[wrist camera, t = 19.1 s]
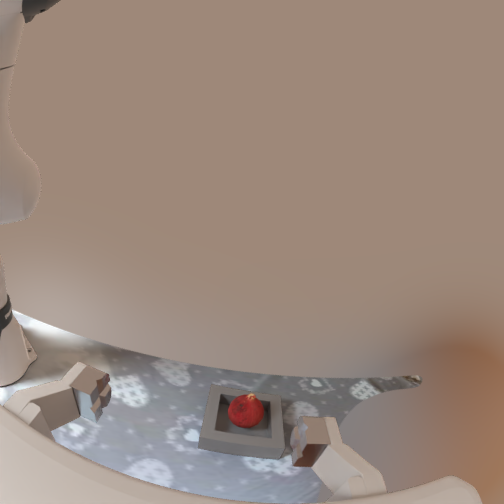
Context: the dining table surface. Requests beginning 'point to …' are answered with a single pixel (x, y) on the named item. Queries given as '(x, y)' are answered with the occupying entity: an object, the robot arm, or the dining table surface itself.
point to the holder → (242, 439)
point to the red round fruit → (246, 411)
